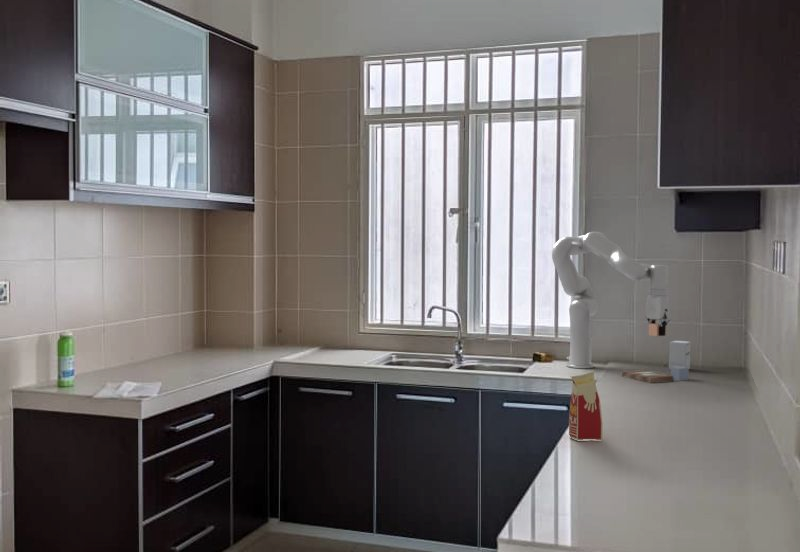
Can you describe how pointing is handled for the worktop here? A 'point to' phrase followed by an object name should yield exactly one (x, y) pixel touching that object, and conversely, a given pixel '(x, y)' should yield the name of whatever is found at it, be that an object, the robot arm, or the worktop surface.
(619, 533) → the worktop surface
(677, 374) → the slate block
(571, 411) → the milk carton
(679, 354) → the supplement box
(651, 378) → the board
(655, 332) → the terracotta block
